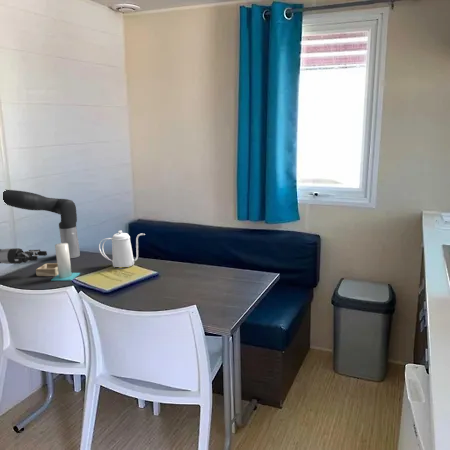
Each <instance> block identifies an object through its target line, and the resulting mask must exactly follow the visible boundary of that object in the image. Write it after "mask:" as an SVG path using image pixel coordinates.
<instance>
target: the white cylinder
mask: <svg viewBox="0 0 450 450" xmlns="http://www.w3.org/2000/svg"><path fill="white" fill-rule="evenodd" d="M54 248H55V255H56V256H55V257H56V263H57V265H58V273H59V274H58V275H59V278H68V277H71V276H72V273H73V272H72V265H71V259H70V255H69V247H68V243H61V242H60V243H56V244H54Z"/></svg>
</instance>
